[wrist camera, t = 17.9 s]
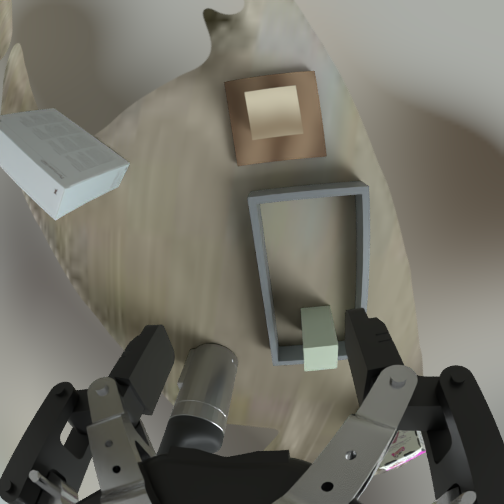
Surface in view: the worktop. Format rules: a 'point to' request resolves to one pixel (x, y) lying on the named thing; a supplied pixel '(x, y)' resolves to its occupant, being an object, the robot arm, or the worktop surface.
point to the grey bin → (255, 198)
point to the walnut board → (280, 146)
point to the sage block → (319, 338)
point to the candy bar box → (403, 449)
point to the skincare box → (57, 160)
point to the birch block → (274, 112)
